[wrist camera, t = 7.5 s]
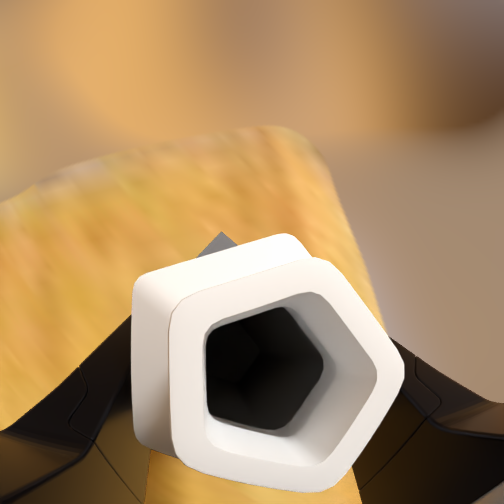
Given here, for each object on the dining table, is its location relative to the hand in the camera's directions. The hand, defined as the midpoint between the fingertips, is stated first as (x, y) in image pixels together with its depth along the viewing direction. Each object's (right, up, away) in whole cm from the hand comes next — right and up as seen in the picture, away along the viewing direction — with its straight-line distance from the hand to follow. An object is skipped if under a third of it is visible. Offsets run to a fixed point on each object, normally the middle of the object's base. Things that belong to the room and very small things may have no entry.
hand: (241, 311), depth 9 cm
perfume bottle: (-1, -4, +8) cm, 9 cm away
